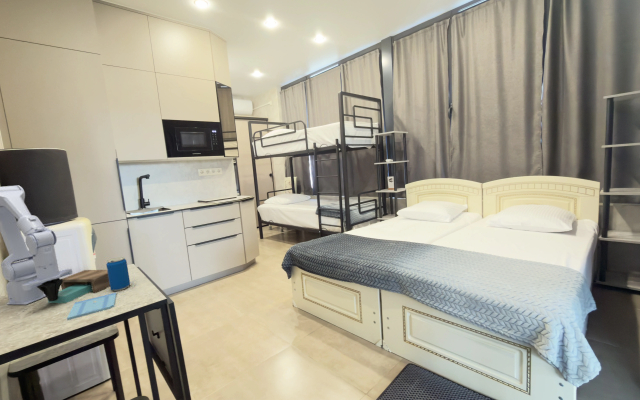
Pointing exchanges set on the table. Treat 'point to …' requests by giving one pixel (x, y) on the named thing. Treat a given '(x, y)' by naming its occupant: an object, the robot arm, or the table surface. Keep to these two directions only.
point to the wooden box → (88, 279)
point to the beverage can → (118, 273)
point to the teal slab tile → (72, 293)
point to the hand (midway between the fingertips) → (53, 300)
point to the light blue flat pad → (92, 306)
